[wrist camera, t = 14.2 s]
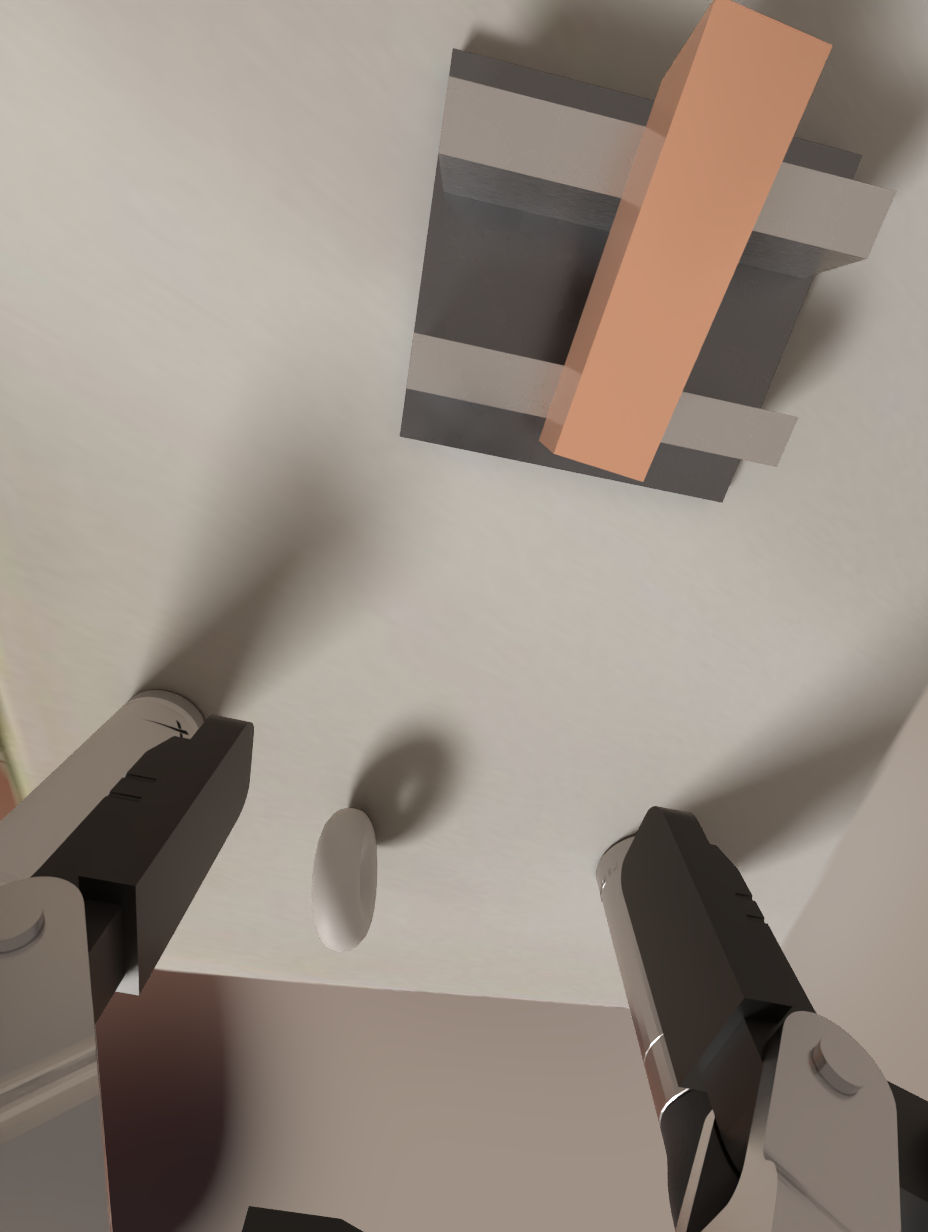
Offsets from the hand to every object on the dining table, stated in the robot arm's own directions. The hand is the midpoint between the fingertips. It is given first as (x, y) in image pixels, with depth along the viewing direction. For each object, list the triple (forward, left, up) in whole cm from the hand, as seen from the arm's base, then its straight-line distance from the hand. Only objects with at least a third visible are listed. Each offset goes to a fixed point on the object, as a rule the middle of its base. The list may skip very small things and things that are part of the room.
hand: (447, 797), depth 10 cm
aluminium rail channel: (-6, -12, -25) cm, 29 cm away
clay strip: (-6, -12, -19) cm, 24 cm away
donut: (+3, +29, -26) cm, 39 cm away
